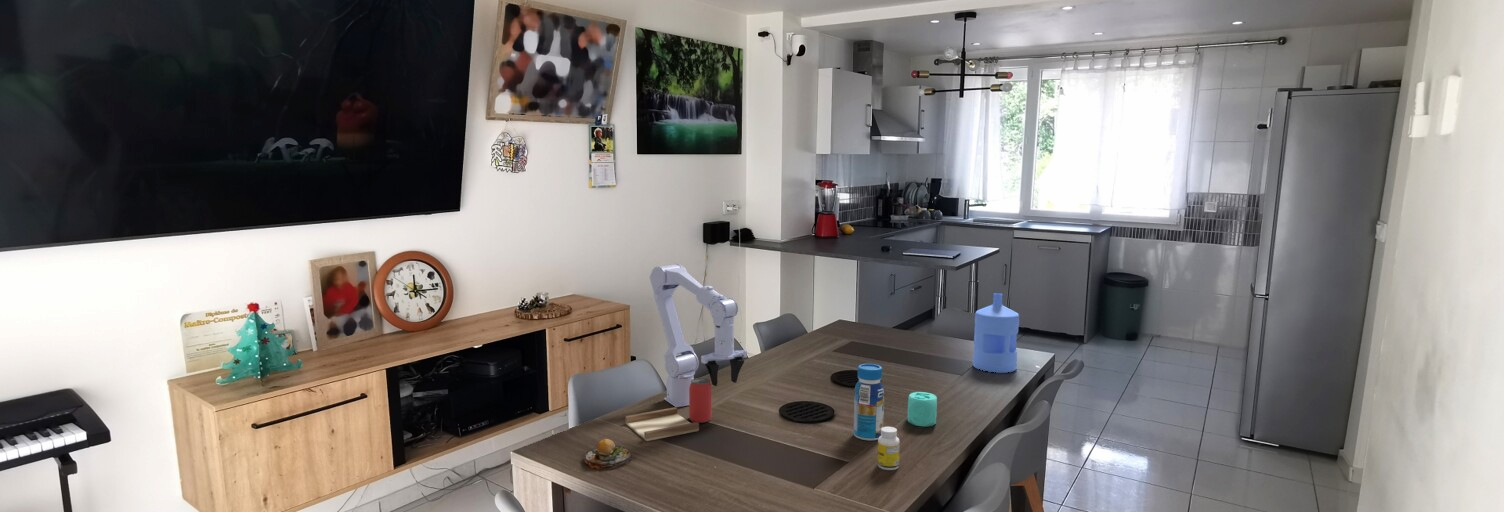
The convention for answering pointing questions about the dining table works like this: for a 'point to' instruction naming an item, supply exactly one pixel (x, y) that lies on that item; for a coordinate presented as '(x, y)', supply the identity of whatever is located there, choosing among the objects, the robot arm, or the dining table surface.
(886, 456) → the supplement bottle
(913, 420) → the turquoise short cylinder
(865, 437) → the beverage bottle
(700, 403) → the beer can
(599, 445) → the food on plate
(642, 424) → the birch tray
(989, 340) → the water jug
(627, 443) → the dining table surface
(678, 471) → the dining table surface
